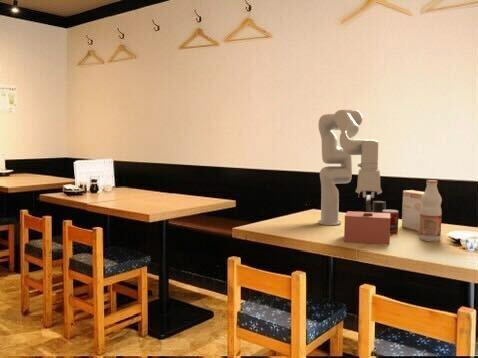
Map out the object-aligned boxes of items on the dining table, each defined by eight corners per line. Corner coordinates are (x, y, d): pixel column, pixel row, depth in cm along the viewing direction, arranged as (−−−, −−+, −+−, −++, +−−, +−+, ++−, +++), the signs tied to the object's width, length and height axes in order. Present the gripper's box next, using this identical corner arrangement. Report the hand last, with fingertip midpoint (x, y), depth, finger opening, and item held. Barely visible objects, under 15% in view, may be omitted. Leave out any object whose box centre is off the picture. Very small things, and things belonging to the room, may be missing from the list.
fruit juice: (414, 237, 232) (417, 179, 229) (432, 236, 234) (434, 179, 231) (426, 242, 222) (429, 181, 220) (444, 241, 225) (447, 181, 222)
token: (365, 212, 224) (366, 206, 229) (370, 212, 223) (370, 206, 228) (365, 200, 221) (366, 194, 227) (370, 200, 221) (370, 195, 226)
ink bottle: (380, 225, 263) (381, 203, 262) (366, 222, 270) (367, 201, 269) (390, 223, 269) (391, 201, 268) (377, 220, 276) (377, 200, 275)
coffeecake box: (431, 230, 248) (432, 193, 246) (419, 231, 246) (421, 193, 244) (412, 225, 262) (413, 189, 261) (401, 226, 260) (402, 190, 258)
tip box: (346, 235, 237) (347, 211, 235) (389, 238, 231) (390, 213, 229) (344, 241, 223) (344, 215, 222) (389, 244, 217) (390, 218, 216)
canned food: (390, 234, 240) (390, 212, 238) (378, 231, 247) (379, 210, 246) (401, 232, 243) (402, 211, 242) (389, 230, 250) (390, 209, 249)
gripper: (351, 166, 222) (350, 206, 224) (386, 167, 218) (385, 207, 219) (352, 165, 230) (351, 204, 231) (387, 166, 225) (386, 205, 226)
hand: (368, 205), depth 225 cm, fingers closed on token, 1 cm apart
